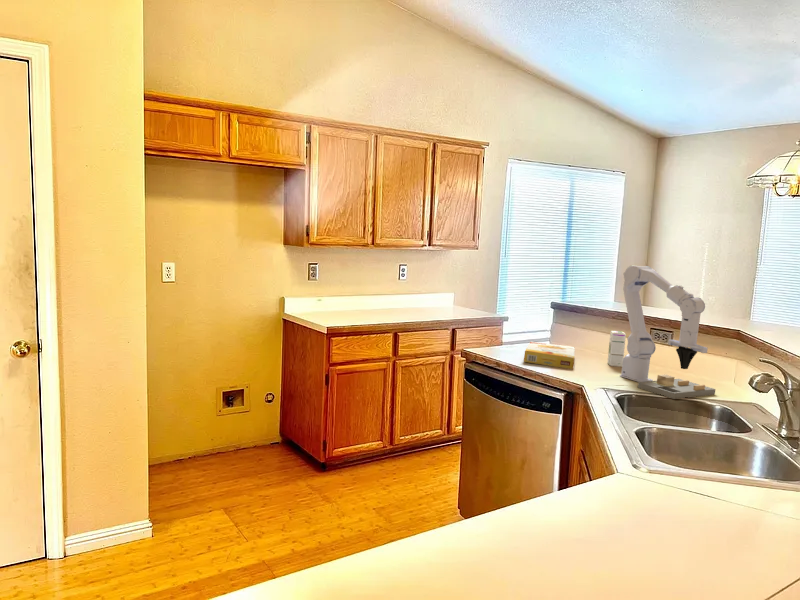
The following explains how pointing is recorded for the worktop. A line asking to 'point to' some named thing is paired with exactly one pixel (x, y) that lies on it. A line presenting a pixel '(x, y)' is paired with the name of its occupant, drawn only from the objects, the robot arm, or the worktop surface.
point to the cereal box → (550, 355)
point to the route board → (677, 389)
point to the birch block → (665, 380)
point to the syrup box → (616, 348)
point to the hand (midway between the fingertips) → (684, 368)
